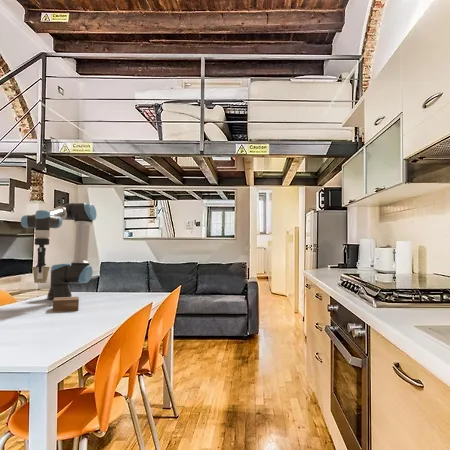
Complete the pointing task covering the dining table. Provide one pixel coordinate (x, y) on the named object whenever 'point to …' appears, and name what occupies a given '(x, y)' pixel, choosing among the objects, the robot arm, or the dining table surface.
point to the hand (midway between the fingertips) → (40, 278)
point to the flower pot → (45, 275)
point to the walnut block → (65, 304)
